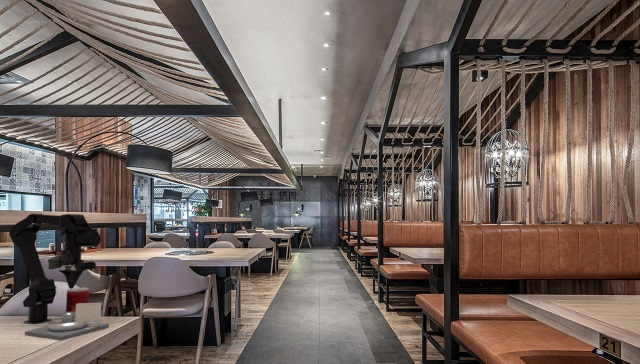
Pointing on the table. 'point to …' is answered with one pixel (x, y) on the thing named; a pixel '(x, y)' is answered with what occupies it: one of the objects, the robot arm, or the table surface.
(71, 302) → the canned food
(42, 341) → the table surface
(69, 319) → the dial
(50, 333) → the panel
